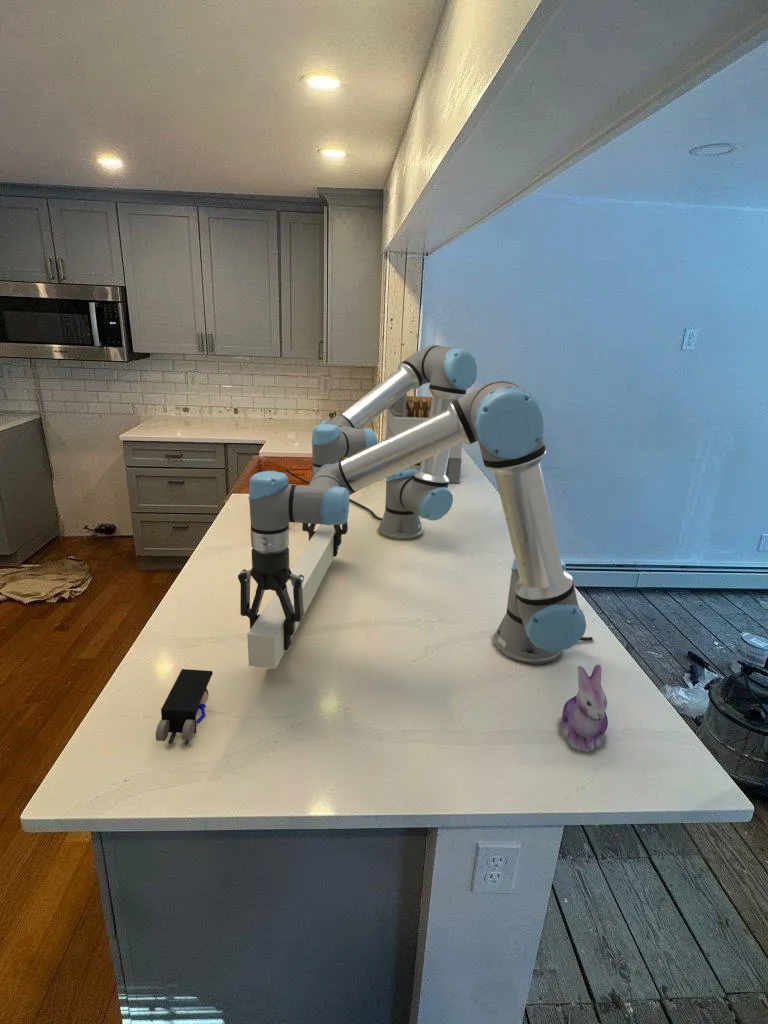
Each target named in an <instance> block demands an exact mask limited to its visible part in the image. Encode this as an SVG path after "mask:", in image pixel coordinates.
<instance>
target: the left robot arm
mask: <svg viewBox="0 0 768 1024" xmlns="http://www.w3.org/2000/svg"><path fill="white" fill-rule="evenodd" d="M478 374H479V365H478V361H477V359H476V358H475V355H474V354H473V353H472V352H470V351H469V350H467V349H465V348H461V347H452V346H443V345H435V344H434V345H433V344H432V345H428V346H425V347H423V348H421V349H419V350H417V351H416V352H414V353H412V354H411V355H410V356H408V357H407V358H405V359H404V360H403V361H402V362H400V363H399V364H398V365H397V369H396V370H395V371H394V372H393V373H391V374H390V375H389V376H387V378H385V379H384V380H383V381H381V382H380V383H378V384H377V385H376V386H375V387H373V388H372V389H371V390H370V391H368V392H367V393H366V394H365V395H364V396H361V398H359V399H358V400H357V401H355V402H354V403H353V404H352V405H351V406H349V407H348V408H347V409H345V410H344V411H343V412H342V413H340V414H339V415H338V416H337V417H335V418H334V419H325V420H322V421H320V422H321V423H319V424H317V425H315V426H314V427H312V436H311V449H312V450H311V452H312V453H311V454H312V455H311V456H312V457H311V460H312V461H311V463H312V466H311V467H312V468H311V478H312V477H313V475H314V473H315V472H316V471H317V470H318V469H319V468H320V467H322V466H324V465H327V464H335V463H337V462H340V459H345V458H348V457H350V456H352V455H354V454H356V453H358V452H360V451H362V450H364V449H366V448H368V447H370V446H373V445H375V444H377V443H378V437H377V434H376V432H375V431H374V430H373V429H372V428H364V427H366V426H367V425H368V424H370V423H371V422H373V420H375V419H376V418H377V417H378V416H380V415H381V414H382V413H383V412H385V411H387V408H388V407H390V406H391V405H392V404H393V403H395V402H396V401H397V400H398V399H400V398H401V397H402V396H403V395H405V394H406V393H407V394H408V393H409V392H410V391H411V390H418V389H419V388H420V387H422V386H423V385H426V384H429V386H428V391H429V392H430V394H431V397H432V402H431V407H430V413H429V418H431V417H433V416H435V415H437V414H439V413H441V412H443V411H445V410H447V409H448V407H449V404H450V403H451V402H453V401H455V400H457V399H459V398H461V397H463V396H464V395H466V394H467V391H468V389H470V388H471V387H473V384H475V383H476V381H477V379H478ZM450 449H451V448H450ZM450 449H447V450H445V451H443V452H441V453H439V454H437V455H434V456H432V457H430V458H428V459H426V460H424V461H421V464H420V466H419V469H418V468H412V467H408V468H406V469H404V470H402V471H400V472H398V473H395V474H393V475H391V476H389V477H387V478H385V504H384V505H385V507H384V508H385V509H384V513H383V515H382V517H379V516H377V515H376V514H375V513H374V511H372V510H371V509H370V508H368V507H366V506H365V505H363V504H361V503H359V502H357V501H355V500H353V499H352V498H349V503H352V504H354V505H356V506H358V507H360V508H362V509H363V510H365V511H367V512H368V513H370V514H371V515H372V517H373V518H375V519H376V520H377V521H381V522H379V526H378V533H379V534H380V535H381V536H382V537H385V538H387V539H389V540H395V541H410V540H415V539H418V538H420V537H421V536H422V535H423V525H422V522H421V518H422V519H426V520H428V521H431V522H433V521H439V520H441V519H442V518H444V516H445V515H447V514H449V512H450V510H451V508H452V506H453V502H454V495H453V494H452V491H451V490H450V489H449V484H450V483H449V479H448V477H447V476H446V470H447V465H448V459H449V454H450ZM284 471H285V472H287V473H288V474H289V475H291V476H293V477H294V478H296V479H298V480H300V481H301V482H303V483H306V484H307V485H309V484H310V482H311V481H308V480H306V479H304V478H302V477H300V476H298V475H296V474H295V473H293V472H292V471H290V470H288V468H286V469H285V470H284ZM316 525H317V524H310V523H302V526H301V527H302V531H303V532H306V533H308V542H309V541H310V539H311V538H312V536H313V535H314V533H315V532H316V530H315V528H316ZM348 525H349V524H348V520H347V522H346V523H345V524H342V525H333V526H334V529H335V532H336V533H335V535H334V545H333V557H334V558H336V557H337V556H338V553H339V548H338V546H339V547H340V546H341V544H342V536H343V535H345V536H346V535H347V533H348V531H349V528H348V527H349V526H348Z"/></svg>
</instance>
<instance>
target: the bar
mask: <svg viewBox="0 0 768 1024" xmlns="http://www.w3.org/2000/svg"><path fill="white" fill-rule="evenodd" d="M315 531H316V532H315V533H314V535H313V536H312V538H311V539H310V541H309V540H308V542H307V544H306V545H305V547H304V548H303V550H302V551H301V552H300V554H299V555H298V557H297V558H296V560H295V562H294V563H293V565H292V567H290V570H291V572H292V574H294V575H297V576H299V575H303V576H304V580H303V583H302V595H303V610H304V615H305V613H306V612H307V609H308V608H309V606H310V605H311V602H312V600H313V598H314V597H315V595H316V593H317V591H318V589H319V587H320V585H321V583H322V581H323V579H324V577H325V575H326V573H327V572H328V571H329V567H330V565H331V564H332V562H333V560H334V558H335V557H333V545H334V535H335V533H336V532H335V529H334V526H333V525H325V524H319V525H318V527H317V529H316V530H315ZM338 549H340V546H338ZM286 585H287V591H288V594H289V597H290V600H291V603H292V606H293V609H294V596H293V588H294V586H292V584H291V580H288V581H287V583H286ZM294 612H295V610H294ZM304 615H303V617H304ZM285 620H286V617H285V614H284V611H283V609H282V606H281V603H280V600H279V597H278V596H277V594H276V591H274V594H273V595H272V596H271V598H270V599H269V601H268V602H267V604H266V606H265V607H264V608H263V610H262V611H261V613H260V616H259V617H258V619H257V620H256V622H255V623H254V625H253V626H252V628H251V629H250V628H249V631H248V632H247V634H246V635H247V656H248V657H247V658H248V666H249V667H254V668H263V669H272V670H276V669H277V667H278V665H279V663H280V662H281V659H282V658H283V656H284V654H285V652H286V650H284V622H285ZM300 623H301V621H300V622H297V621H296V622H295V632H294V634H293V636H291V640H292V639H293V637H294V635H295V633H296V631H297V630H298V627H299V625H300Z"/></svg>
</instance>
